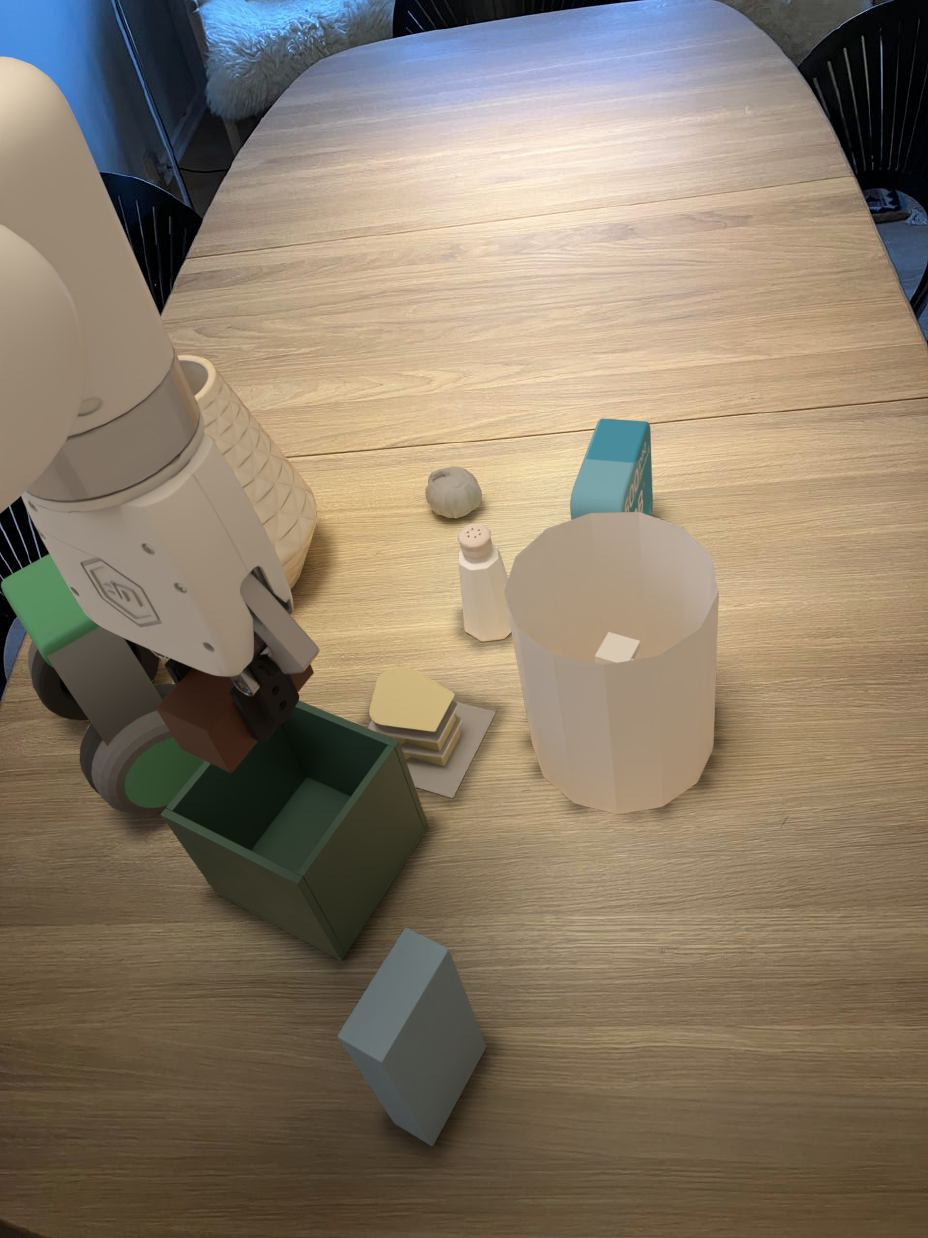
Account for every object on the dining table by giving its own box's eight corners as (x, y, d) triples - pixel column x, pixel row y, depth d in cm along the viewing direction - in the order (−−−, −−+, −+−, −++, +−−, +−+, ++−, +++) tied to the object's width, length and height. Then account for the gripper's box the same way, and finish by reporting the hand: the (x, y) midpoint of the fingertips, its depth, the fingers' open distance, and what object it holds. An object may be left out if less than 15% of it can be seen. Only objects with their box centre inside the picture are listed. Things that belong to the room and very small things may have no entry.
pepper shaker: (453, 637, 94) (432, 550, 86) (475, 594, 97) (455, 507, 89) (509, 648, 92) (492, 560, 84) (529, 604, 95) (514, 515, 87)
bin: (341, 961, 74) (297, 884, 66) (215, 893, 80) (159, 814, 71) (429, 827, 81) (399, 740, 72) (307, 772, 86) (265, 686, 78)
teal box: (627, 603, 93) (621, 503, 84) (579, 596, 95) (567, 498, 86) (653, 513, 100) (650, 413, 92) (608, 509, 102) (600, 410, 93)
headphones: (53, 712, 95) (-61, 558, 81) (158, 649, 99) (67, 490, 84) (133, 848, 84) (17, 697, 69) (249, 772, 87) (162, 612, 73)
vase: (236, 668, 95) (140, 477, 79) (132, 592, 105) (26, 407, 88) (369, 557, 103) (307, 360, 86) (260, 495, 112) (185, 307, 95)
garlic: (418, 521, 105) (408, 482, 101) (441, 487, 108) (432, 448, 104) (471, 532, 103) (463, 492, 99) (493, 497, 106) (486, 457, 102)
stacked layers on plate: (496, 712, 87) (486, 671, 83) (452, 798, 82) (441, 759, 78) (392, 685, 91) (378, 644, 87) (345, 766, 86) (328, 727, 82)
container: (671, 840, 77) (668, 690, 64) (501, 775, 83) (466, 627, 70) (736, 696, 84) (746, 537, 71) (577, 648, 91) (559, 492, 77)
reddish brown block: (231, 774, 51) (207, 732, 48) (180, 749, 52) (154, 708, 50) (314, 672, 54) (296, 629, 52) (264, 652, 56) (244, 609, 53)
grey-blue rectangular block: (432, 1147, 65) (381, 1063, 54) (393, 1123, 66) (336, 1036, 55) (487, 1046, 69) (449, 948, 58) (449, 1026, 70) (405, 926, 59)
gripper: (-108, 432, 42) (86, 706, 55) (190, 537, 34) (330, 825, 48) (27, 330, 45) (178, 610, 59) (322, 405, 38) (417, 706, 51)
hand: (245, 704), depth 53 cm, fingers closed on reddish brown block, 3 cm apart
